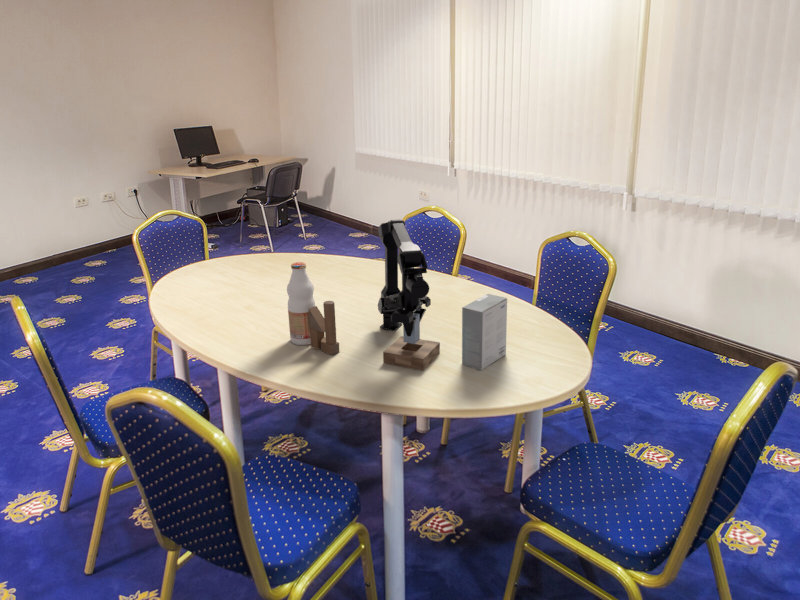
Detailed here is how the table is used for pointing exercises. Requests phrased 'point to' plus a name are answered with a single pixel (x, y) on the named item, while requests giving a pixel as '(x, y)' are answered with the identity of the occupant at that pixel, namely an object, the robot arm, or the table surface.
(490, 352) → the hard drive box
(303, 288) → the fruit juice
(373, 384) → the table surface
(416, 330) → the tenon peg
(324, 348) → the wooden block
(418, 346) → the mortise block
